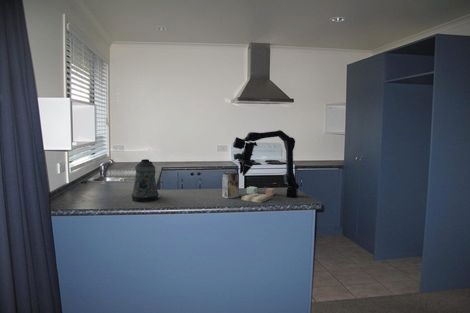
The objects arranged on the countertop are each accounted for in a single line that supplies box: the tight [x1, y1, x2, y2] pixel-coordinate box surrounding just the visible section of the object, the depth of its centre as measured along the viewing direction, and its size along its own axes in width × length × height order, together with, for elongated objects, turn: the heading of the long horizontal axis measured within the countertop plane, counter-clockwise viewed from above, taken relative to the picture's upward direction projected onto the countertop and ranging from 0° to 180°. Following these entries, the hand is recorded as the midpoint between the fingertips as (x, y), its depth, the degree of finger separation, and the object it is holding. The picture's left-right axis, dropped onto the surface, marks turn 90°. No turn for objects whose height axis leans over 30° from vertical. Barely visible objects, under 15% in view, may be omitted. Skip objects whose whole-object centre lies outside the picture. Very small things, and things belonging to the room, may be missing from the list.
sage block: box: [246, 186, 258, 194], centre depth 235 cm, size 6×6×4 cm
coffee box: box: [221, 171, 240, 199], centre depth 222 cm, size 9×6×16 cm
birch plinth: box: [240, 192, 272, 204], centre depth 217 cm, size 14×14×2 cm
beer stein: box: [131, 158, 159, 203], centre depth 214 cm, size 16×19×25 cm
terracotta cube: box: [265, 187, 276, 197], centre depth 231 cm, size 4×4×4 cm
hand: (242, 174), depth 219 cm, fingers open, 9 cm apart
